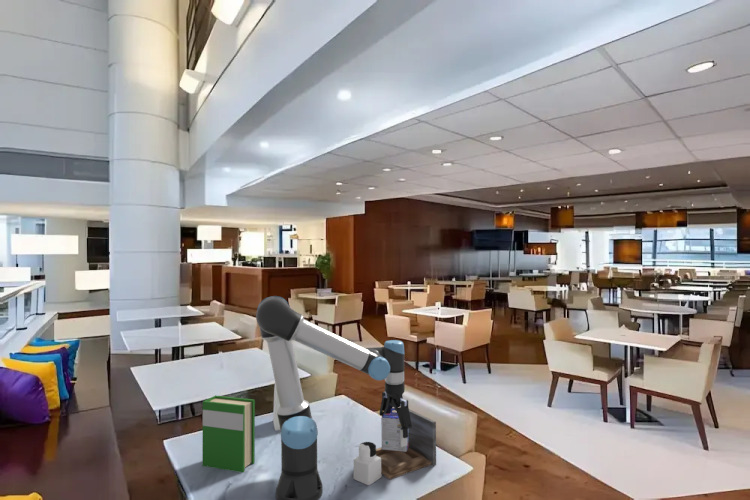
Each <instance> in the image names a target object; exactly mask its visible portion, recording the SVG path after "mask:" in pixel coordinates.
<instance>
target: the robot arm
mask: <svg viewBox="0 0 750 500" xmlns="http://www.w3.org/2000/svg"><path fill="white" fill-rule="evenodd" d="M255 319H256V323H257V325H258V327H259V331H260V336H261V339H262V340H265V341H266V343H267V344H266V345H267V347H268V352H269V358H270V363H271V366H272V367H271V368H272V373H273V377H274V384H275V383H276V388H277V393H278V398H279V403H280V407H279V409H278V410H277V415H278V420H279V425H280V430H279V431H280V443H281V447H280V448H281V454H280V456H281V458H280V459H281V464H280V465H281V473H280V475H279V478H278V481H277V485H276V489H275V499H276V500H320V499H321V497H322V496H323V491H324V490H323V482H322V479H321V476H320V473H319V470H318V428H317V427H318V425H317V422H316V421H315V420H314V419H313V416H312V411H311V408H310V402H309V401H308V400H305V399H304V393H303V390H302V383H301V379H300V374H299V369H298V368H299V367H298V364H297V359H296V354H295V349H294V343H293V341H294V342H297V343H300V344H301V345H303V346H305V347H308V348H310V349H313V350H315V351H316V352H319V353H321V354H324V356H325V355H326V356H327V357H330V358H332V359H334V360H337V361H338V362H340V363H343V364H345V365H347V366H349V367H352V368H354V369H357V370H358V371H360V372H361V373H364V374H366V375H369V376H370V378H371V379H373V380H375V381H383V380H384V381H385V382H384V391H382V393H381V397H382V398H381V403H380V409H379V413H378V414H379V416H381V417H382V416H383V415H384V413H387V414H390V412H391V408H395V410H394V412H396V413H397V414H398V417H399V421H400V424H401V427H402V428H400V446H401V447H403V446H407V437H408V429H409V428H412V424H411V419H410V413H409V409H410V408H409V400H408V399H404V398H403V397H404V396H403V394H404V393H405V392H406V391H405V390H406V389H405V388H406V387H405V354H406V353H405V345H404V344H405V343H404V341H402V340H398V339H391V340H386V341H385V342H384V345H383V346H381V347H380V346H379V347H363V346H361V345H358V344H357V343H354V342H353V341H350V340H348V339H346V338H344V337H342V336H340V335H338V334H336V333H333V332H332V331H330V330H327V329H325V328H323V327H321V326H319V325H317V324H315V323H313V322H311V321H309V320H307V319H305V317H304V315H302V313H300V312H298V311H296V310H294V309H293V308H291V306H290V304H289V302H288V301H287V300H286V299H285V298H284V297H282V296H277V295H273V296H269V297H265V298H264V299H262V301H260V303H258V306H257V310H256V315H255Z"/></svg>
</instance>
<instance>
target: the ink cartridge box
mask: <svg viewBox="0 0 750 500" xmlns="http://www.w3.org/2000/svg"><path fill="white" fill-rule="evenodd" d="M380 419H381V420H380V421H381V447H382V450H393V451H404V452H406V451H407V449H408V447H409V432H408V437H407V446H403V447H401V446H400V428H402V427H401V424H400V421H399V417H398V414H397V411H395V408H394V407H393V408H391V412H390V414H387V413H384V415H383V416H381V418H380Z"/></svg>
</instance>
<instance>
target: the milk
mask: <svg viewBox="0 0 750 500" xmlns="http://www.w3.org/2000/svg"><path fill="white" fill-rule="evenodd" d="M273 390H274V392H273V413H272V414H273V415H272V416H273V417H272V418H273V419H272V422H273V427H274V431H281V430H280V425H279V420H278V415H277V410H278V409H279V407H280V403H279V398H278V393H277V388H276V383H275V382H274V389H273Z"/></svg>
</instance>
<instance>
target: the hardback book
mask: <svg viewBox="0 0 750 500" xmlns="http://www.w3.org/2000/svg"><path fill="white" fill-rule="evenodd" d="M255 405H256V401H255V399H252V398H242V397H233V396H225V395H223V396H222V395H214V396H211V397H209V398H207V399H205V400H203V401H202V460H201V461H202V467H207V468H213V469H218V470H225V471H232V472H238V473H245V469H246V468H247V467H248V466H249V465H255V458H256V455H255V445H256V444H255V441H256V439H255V437H256V435H255V433H256V432H255V431H256V430H255V429H256V428H255V427H256V426H255V421H256V420H255V416H256V413H255V412H256V411H255V408H256V406H255Z"/></svg>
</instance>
